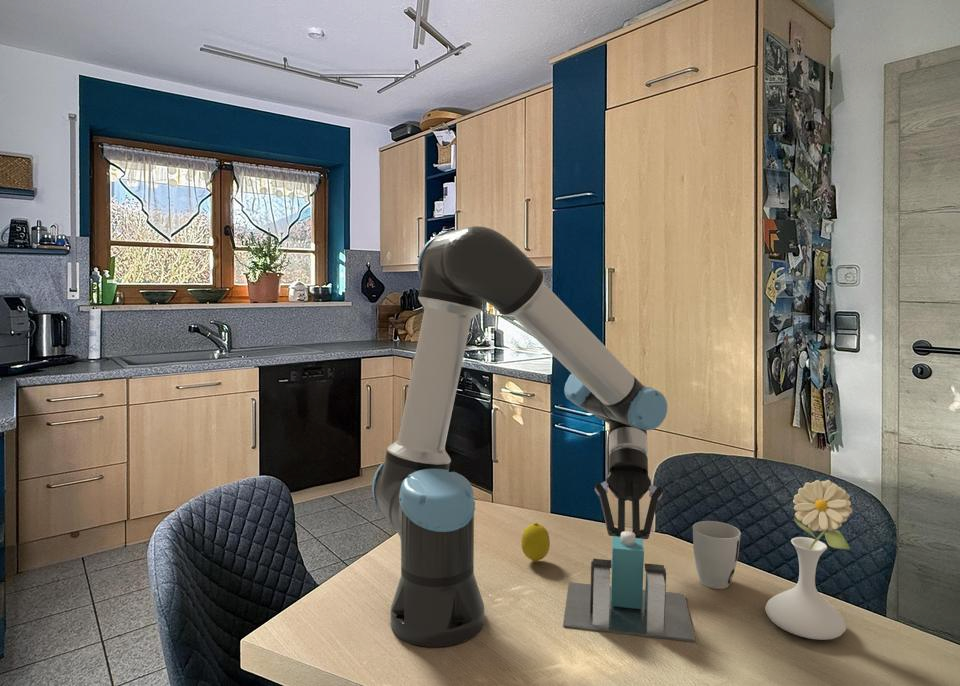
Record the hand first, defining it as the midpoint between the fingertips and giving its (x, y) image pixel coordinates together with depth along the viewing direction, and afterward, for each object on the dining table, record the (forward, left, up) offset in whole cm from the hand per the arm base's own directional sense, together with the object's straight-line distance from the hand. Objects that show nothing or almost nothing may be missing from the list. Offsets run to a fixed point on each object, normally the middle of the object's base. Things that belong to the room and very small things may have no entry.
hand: (628, 574), depth 107 cm
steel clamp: (-1, -6, -3) cm, 7 cm away
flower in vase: (+27, -5, -4) cm, 28 cm away
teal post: (-1, -4, -3) cm, 5 cm away
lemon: (-18, +9, -4) cm, 20 cm away
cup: (+15, +8, -4) cm, 18 cm away
